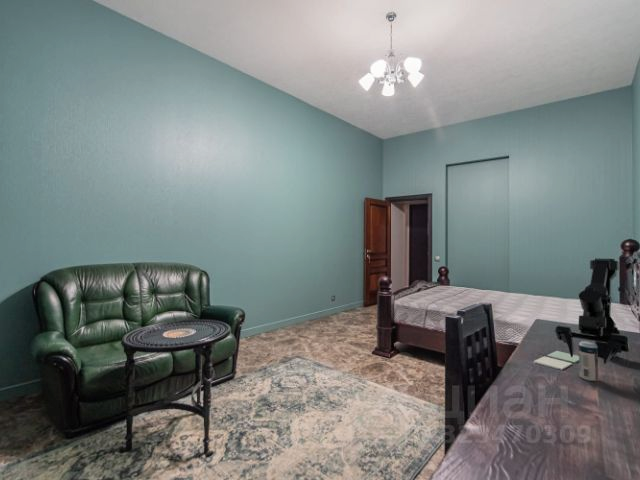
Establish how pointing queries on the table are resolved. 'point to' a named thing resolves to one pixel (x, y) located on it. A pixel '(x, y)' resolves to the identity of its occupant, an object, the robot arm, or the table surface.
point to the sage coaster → (564, 356)
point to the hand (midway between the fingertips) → (587, 359)
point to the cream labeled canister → (588, 360)
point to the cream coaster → (553, 363)
